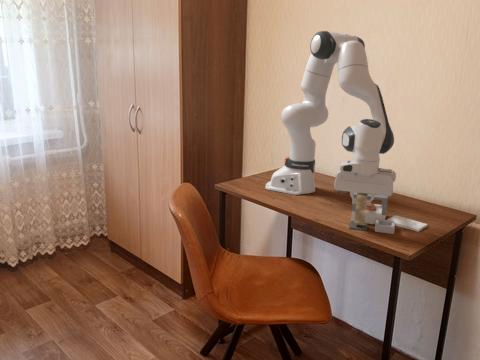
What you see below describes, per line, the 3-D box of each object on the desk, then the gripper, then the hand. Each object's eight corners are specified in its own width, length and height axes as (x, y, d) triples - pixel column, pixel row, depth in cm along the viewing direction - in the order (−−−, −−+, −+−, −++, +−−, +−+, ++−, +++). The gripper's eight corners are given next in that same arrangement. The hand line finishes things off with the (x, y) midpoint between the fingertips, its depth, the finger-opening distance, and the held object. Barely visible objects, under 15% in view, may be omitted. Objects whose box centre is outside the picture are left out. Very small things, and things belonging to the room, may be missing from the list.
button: (363, 215, 176) (364, 205, 175) (363, 212, 180) (364, 202, 179) (373, 216, 175) (374, 206, 174) (373, 213, 179) (374, 203, 178)
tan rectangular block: (354, 224, 167) (357, 194, 164) (354, 220, 170) (357, 192, 167) (364, 225, 166) (367, 196, 163) (364, 222, 169) (367, 193, 166)
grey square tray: (374, 231, 165) (375, 224, 164) (375, 225, 171) (375, 218, 170) (393, 234, 163) (394, 227, 163) (393, 227, 169) (394, 221, 169)
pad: (349, 228, 167) (349, 227, 166) (350, 223, 172) (350, 221, 172) (366, 231, 165) (366, 229, 165) (367, 225, 171) (367, 224, 170)
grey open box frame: (350, 221, 174) (353, 194, 171) (352, 211, 185) (355, 185, 182) (384, 225, 171) (387, 198, 168) (384, 215, 182) (387, 189, 179)
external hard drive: (395, 218, 180) (427, 227, 172) (385, 223, 175) (418, 233, 167) (396, 214, 180) (428, 223, 172) (386, 219, 174) (418, 228, 166)
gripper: (396, 167, 163) (391, 205, 166) (337, 161, 168) (333, 198, 172) (397, 172, 157) (391, 210, 161) (335, 165, 162) (331, 203, 166)
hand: (361, 204), depth 166 cm, fingers closed on tan rectangular block, 3 cm apart
